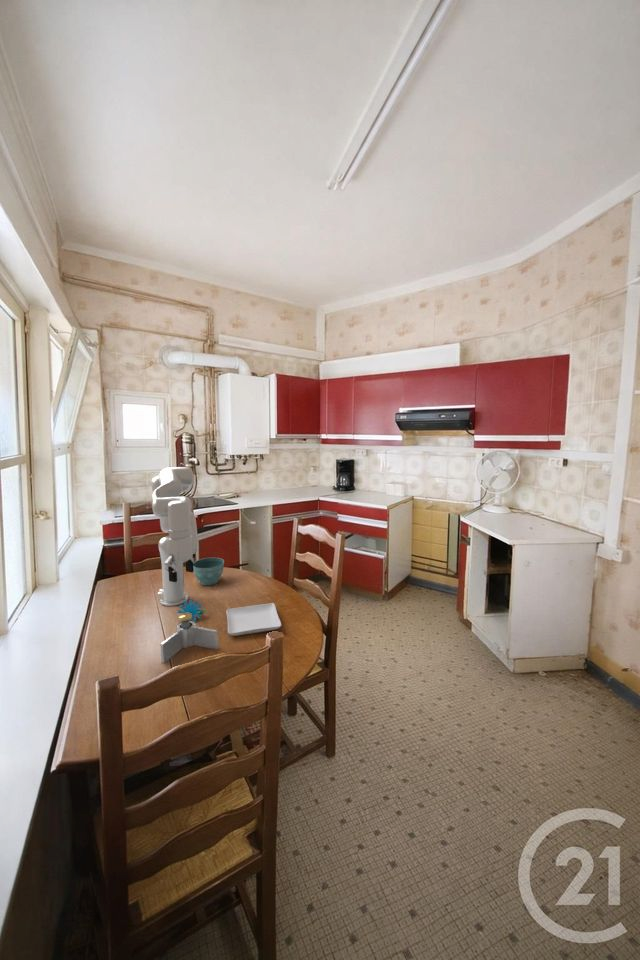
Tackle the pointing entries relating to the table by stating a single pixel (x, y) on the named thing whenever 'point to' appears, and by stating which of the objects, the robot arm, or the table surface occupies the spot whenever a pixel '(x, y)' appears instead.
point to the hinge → (188, 640)
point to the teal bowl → (208, 570)
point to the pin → (185, 619)
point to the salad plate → (252, 619)
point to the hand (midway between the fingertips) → (181, 576)
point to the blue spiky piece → (192, 609)
